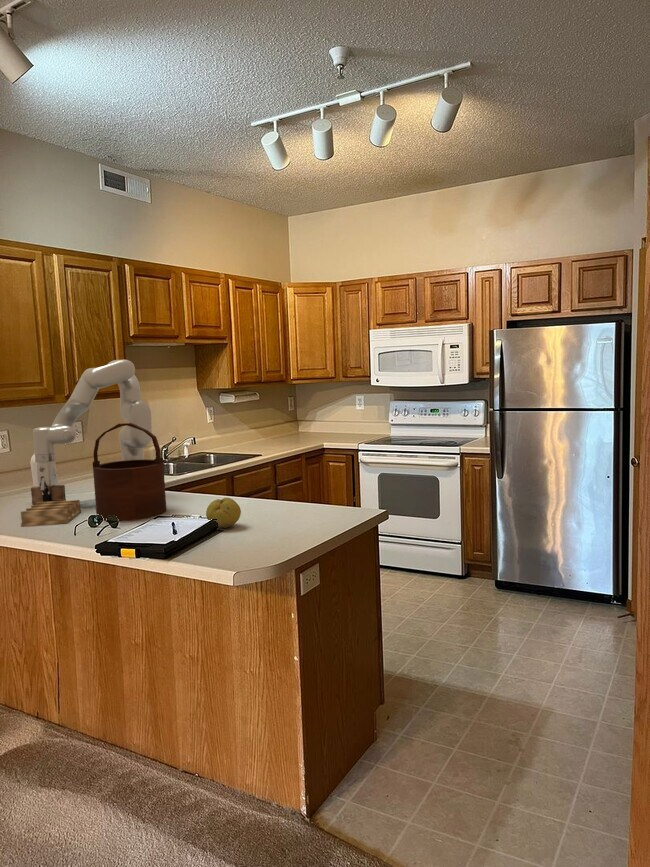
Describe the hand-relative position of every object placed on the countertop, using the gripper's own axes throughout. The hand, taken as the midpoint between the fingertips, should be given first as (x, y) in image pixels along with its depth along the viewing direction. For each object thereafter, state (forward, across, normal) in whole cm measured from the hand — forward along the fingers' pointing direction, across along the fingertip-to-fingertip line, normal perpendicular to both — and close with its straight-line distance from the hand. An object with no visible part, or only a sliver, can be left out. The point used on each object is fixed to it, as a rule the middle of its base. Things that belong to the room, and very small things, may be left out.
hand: (49, 502), depth 246 cm
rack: (+3, -16, -6) cm, 17 cm away
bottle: (+3, +20, +9) cm, 22 cm away
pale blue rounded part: (+4, +8, -14) cm, 17 cm away
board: (+3, 0, 0) cm, 3 cm away
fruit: (+4, -46, -72) cm, 85 cm away
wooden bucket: (+4, -14, -35) cm, 38 cm away
